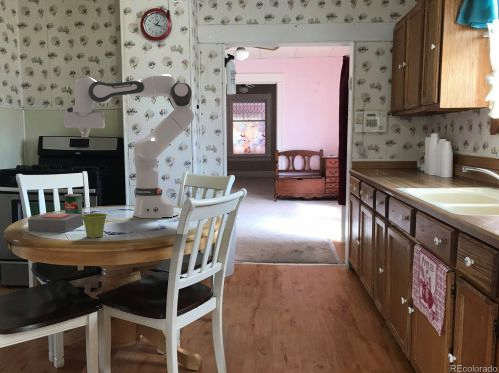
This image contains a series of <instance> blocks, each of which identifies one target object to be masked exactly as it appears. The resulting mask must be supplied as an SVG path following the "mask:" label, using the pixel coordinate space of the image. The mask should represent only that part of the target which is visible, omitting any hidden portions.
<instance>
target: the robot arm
mask: <svg viewBox="0 0 499 373" xmlns="http://www.w3.org/2000/svg"><path fill="white" fill-rule="evenodd" d="M192 93H193V92H192V88H191V85H189V84H188V83H187V82H185V81H176V80H175V79H174V76H172V75H171V74H161V73H160V74H159V73H158V74H151V75H147V76H142V77H139V78H136V79H133V80H130V81H129V80H127V81H122V82H113V83H111V82H105V81H101V80H95V79H94V78H92V77H91V76H80V77H77V78H76V80H75V82H74V97H75V102H74V105H72V106H70V107H66V108H65V114H64V117H63V126H64V127H65V128H67V129H68V128H69V129H70V128H71V129H78V131H79V132H80V135H81V138H89V134H90V132H91V130H92V129H105V127H106V121H105V115H106V114H105V111H104V110H102V109H94V108H95V106H94V103H99V104H103V105H105V104H108V103H110V102H111V101H112V100H113V98H114V97H119V96H121V97H122V96H128V95H129V96H133V95H134V96H137V97H141V98H156V97H167V99H168V102H170V105H171V107H172V108H173V110H172V111H171V112H170V113H169V114H168V115H167V116H166V117H165V118H163V119H162V120H161V121H159V123H158V124H157V125H156V126H154V128H153V129H152V130H151V131H150V132H149V133H148V134H147V135H146V136H145V137H143V138H140V139H138V140H137V141H136V142H135V143H134V146H133V157H134V166H135V188H134V189H135V191H134V198H135V203H134V204H135V205H134V210H133V214H132V216H133V217H137V218H139V219H163V218H162V217H173V216H176V215H178V216H179V213H178V211H175V209H174V204H173V202H172V201H170V200H169V199H168V198H167V197H166V196H164V195H163V188H161V187H160V186H159V170H158V162H157V159H158V157H159V156H160V155H161V154H162V153H163V152H164V151H165V150H166V149H167V148H168V146H170V145H171V143H173V141H175V140H176V139H177V138H178V137H179V136H180V135H181V134H182V133H184V131H185V130H187V128H188V127H189V126H190V125H191V123H192V122H193V120H194V119H195V115H194V112H193V110H192V109H191V105H192V100H193V94H192ZM84 129H85V131H86V132H85V133H84ZM176 217H177V216H176ZM173 218H174V217H173Z"/></svg>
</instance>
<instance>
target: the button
mask: <svg viewBox="0 0 499 373" xmlns="http://www.w3.org/2000/svg"><path fill="white" fill-rule="evenodd" d="M67 216H70V214H50V215H46V216H43V218H64V217H67Z"/></svg>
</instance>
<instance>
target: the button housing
mask: <svg viewBox="0 0 499 373" xmlns="http://www.w3.org/2000/svg"><path fill="white" fill-rule="evenodd" d="M50 214H66V213H65V212H64V213H59V212H58V213H57V212H47V213H44V214H41V215H37V216H35V217H30V218H28V219H27V225H28V226H27V228H28V229H27V230H28V232H42V231H44V232H45V233H47V232H49V233H68V232H69V231H72V230H75V229H77V228H79V227H82V226H84V220H83V217H82V215H84V214H83V213H82V214H70V216H67V217H64V218H43V216H46V215H50Z"/></svg>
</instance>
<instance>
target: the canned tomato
mask: <svg viewBox="0 0 499 373" xmlns="http://www.w3.org/2000/svg"><path fill="white" fill-rule="evenodd" d="M82 196H83V194H81V193H67V194H64V213H66V214H83V197H82Z"/></svg>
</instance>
